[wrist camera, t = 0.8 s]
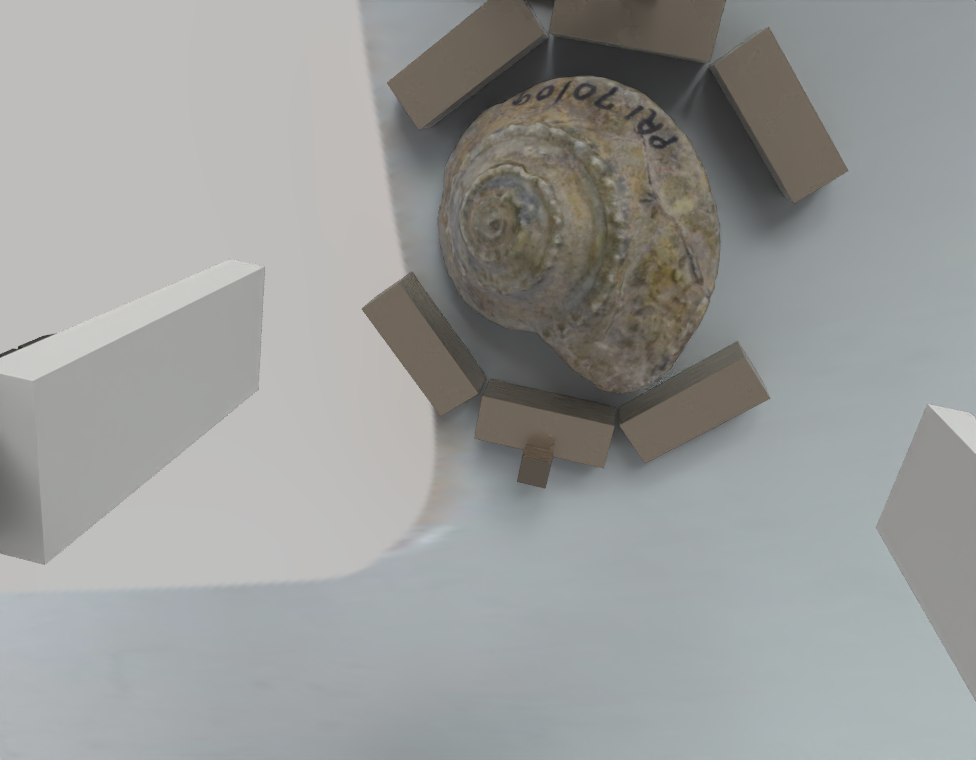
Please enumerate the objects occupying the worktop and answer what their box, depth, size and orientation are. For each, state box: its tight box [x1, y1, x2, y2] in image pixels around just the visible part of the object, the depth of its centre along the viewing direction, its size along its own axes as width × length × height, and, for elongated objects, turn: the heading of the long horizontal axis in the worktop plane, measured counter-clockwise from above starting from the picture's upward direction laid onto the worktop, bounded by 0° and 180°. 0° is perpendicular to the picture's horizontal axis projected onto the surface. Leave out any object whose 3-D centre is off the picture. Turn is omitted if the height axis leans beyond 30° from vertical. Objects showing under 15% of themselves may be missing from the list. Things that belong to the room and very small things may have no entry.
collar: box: [362, 0, 848, 488], centre depth 29 cm, size 20×17×3 cm
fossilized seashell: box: [438, 75, 720, 394], centre depth 29 cm, size 11×10×7 cm
